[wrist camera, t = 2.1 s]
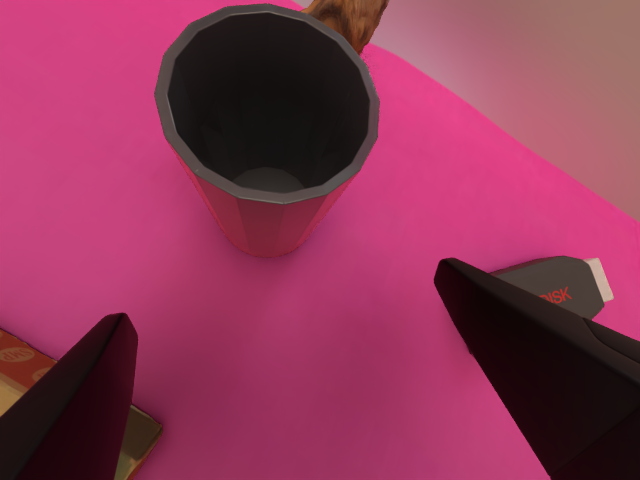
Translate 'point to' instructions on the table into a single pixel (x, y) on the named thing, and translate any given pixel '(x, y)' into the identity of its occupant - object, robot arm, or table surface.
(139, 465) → the carton
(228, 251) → the table surface
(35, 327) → the table surface
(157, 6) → the table surface
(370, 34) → the lion figurine
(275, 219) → the pen pot
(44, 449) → the robot arm
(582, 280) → the usb drive
